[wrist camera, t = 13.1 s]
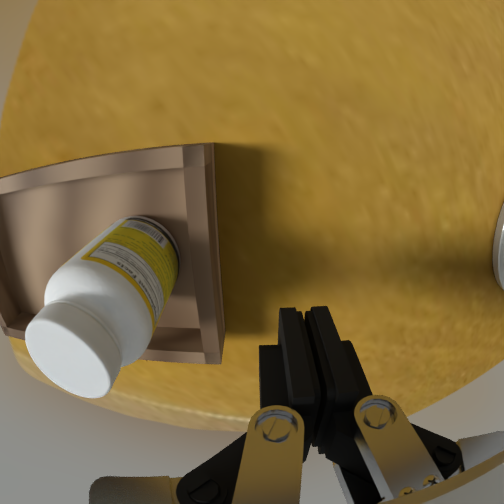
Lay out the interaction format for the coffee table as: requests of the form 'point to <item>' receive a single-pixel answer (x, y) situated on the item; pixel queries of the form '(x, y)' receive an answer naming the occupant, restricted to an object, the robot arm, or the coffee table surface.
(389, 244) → the coffee table surface
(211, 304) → the tray
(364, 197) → the coffee table surface
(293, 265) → the coffee table surface
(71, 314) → the supplement bottle
